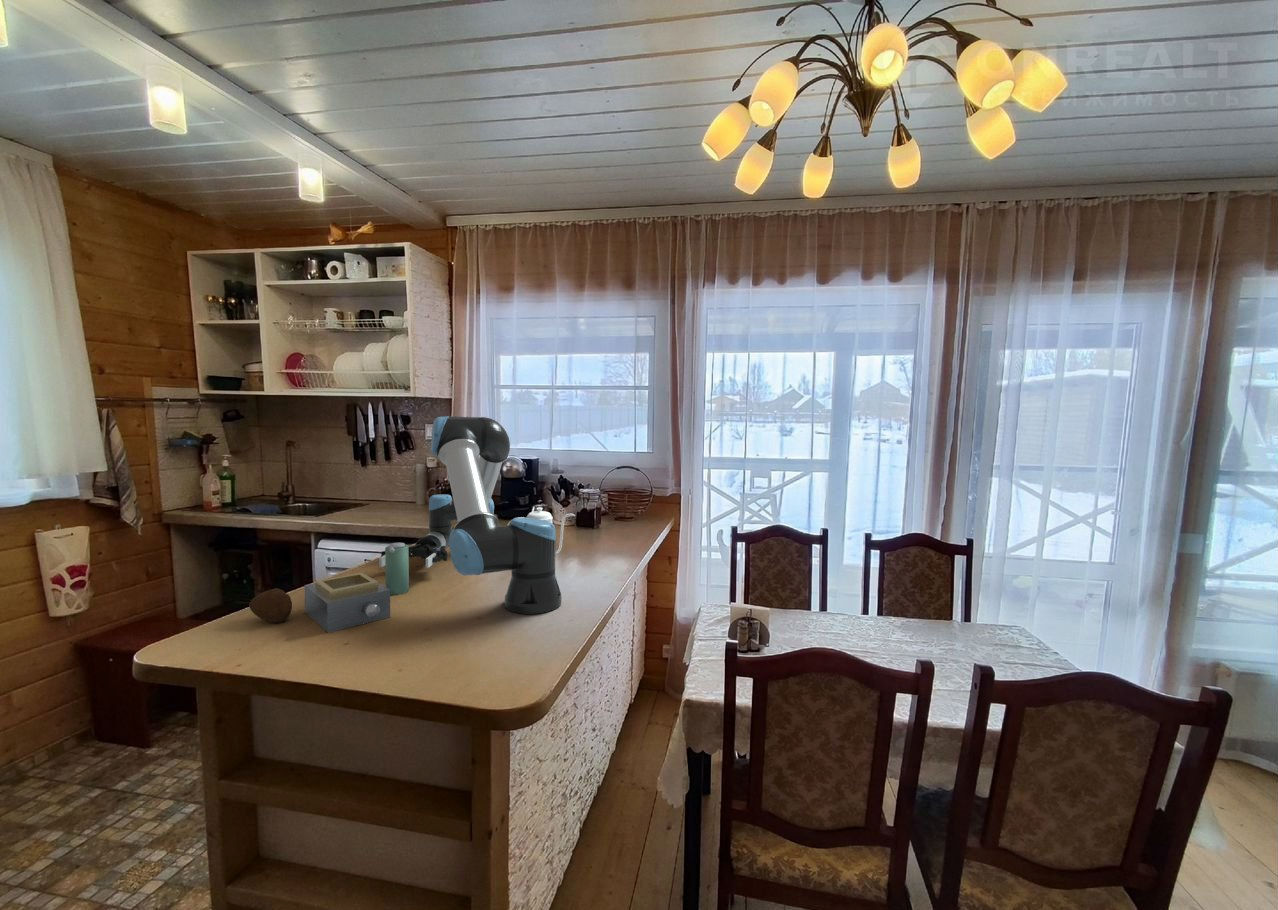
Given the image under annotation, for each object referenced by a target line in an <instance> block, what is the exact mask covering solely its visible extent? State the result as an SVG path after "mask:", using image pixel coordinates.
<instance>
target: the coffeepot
mask: <svg viewBox="0 0 1278 910" xmlns="http://www.w3.org/2000/svg"><path fill="white" fill-rule="evenodd" d="M543 509H544V508H543V507H537V508H536V511H531V512H529V513H528V514H527V516H526V517H524V516H523V517H522V516H521V517H519V516H518V517H517V518H533V519H540V520H545V521H548V522H551V523H552V524H553V519H554V517H553V516H552V514H551V513H550V512H548V511H545V510H543ZM569 517H576V515H575V514H574V513H566V514H564V515H563V517H562V519H561V524H560V535H559V536H560V537H559V544H558V545H559V546H558V549H557V550H556V554H558V553H560V552H561V550H562V547H563V537H564V528H565V527H564V525H565V520H566V518H569ZM512 520H513V519H510V521H509V522H508V523H507V524H506V526H508V525H510V524H511V522H512ZM556 554H555V555H556Z"/></svg>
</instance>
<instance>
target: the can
mask: <svg viewBox="0 0 1278 910" xmlns="http://www.w3.org/2000/svg"><path fill="white" fill-rule="evenodd" d="M408 547H409V545H407V544H405V543H404V542H393V543H389V544H388V545H387V546H385V548H384V549H385V550H384V551H385V566H384V567H385V587H386V588H388V589H390V596H398V595H397V594H401V595H403V593H404V594H407V593H409V591H410V586H409V585H410V576H409V573H410V572H409V571H410V569H409V563H410V562H409V560H410V558H409V550H408ZM406 592H407V593H406Z"/></svg>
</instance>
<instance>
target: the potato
mask: <svg viewBox="0 0 1278 910" xmlns="http://www.w3.org/2000/svg"><path fill="white" fill-rule="evenodd" d="M291 598H292V597H291V596H290V595H289V594H288V593H286V592H285V591H284V590H283V589H280V588H277V587H276V588H272V589H268V590H265V591H262V592H260V593H259V594H257V595H256V596H254V597H253V598H252V599H251V600H250V602H249V604H248V605H249V606H248V607H249V609H250V611H251V613H253V614H254V616H257V617H258V618H259V619H261V620H263V621H267V622H269V623H275V624H276V623H277V624H279V623H282V622H284V621H285V620H287V619H288V618H289V616H290V615H291V612H292V608H293V602H292V599H291Z"/></svg>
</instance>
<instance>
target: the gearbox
mask: <svg viewBox="0 0 1278 910" xmlns="http://www.w3.org/2000/svg"><path fill="white" fill-rule="evenodd" d="M304 613H305V614H306V615H307V616H309V617H310V618H311V619H312V620H313V621H314V622H315V621H316V622H317V623H318V624H317V623H316V622H315V623H316V624H317V625H318V626H319V627H321V628H322V629H323V630H324V631H325V630H326V631H327V632H330V633H333V631H334V632H337V630H338V631H341V630H345V628H346V629H348V628H349V627H350V628H354V627H357V626H356V625H358V626H361V625H364V624H363V623H365V624H369V623H373V622H376V621H380V620H381V621H382V620H385V619H388V618H391V595H390V589H388V588H386V585H385V586H384V585H383V584H381V583H380V582H378V581H377V580H375V579H374V578H372V577H370V576H368V575H367V574H365V573H363V572H358V573H352V574H348V575H342V576H338V577H331V578H327V579H321V580H316V581H315V582H314V583H309V584H304ZM360 624H361V625H360ZM353 626H354V627H353ZM326 631H325V632H326ZM327 632H326V633H327Z"/></svg>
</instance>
